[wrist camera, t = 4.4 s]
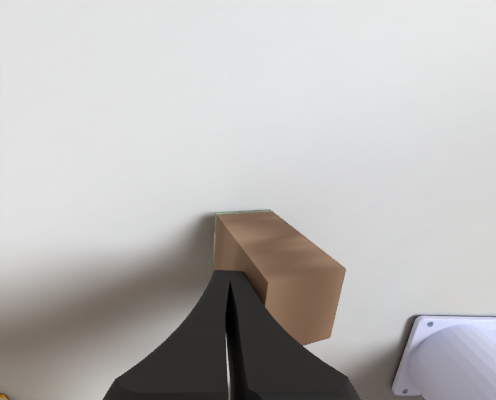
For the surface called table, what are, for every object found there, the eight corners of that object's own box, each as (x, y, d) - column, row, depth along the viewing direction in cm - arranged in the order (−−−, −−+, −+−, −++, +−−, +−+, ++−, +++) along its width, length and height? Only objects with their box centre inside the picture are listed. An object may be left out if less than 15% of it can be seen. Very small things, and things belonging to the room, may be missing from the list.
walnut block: (270, 209, 17) (346, 268, 11) (264, 259, 18) (330, 337, 12) (215, 212, 16) (268, 282, 10) (212, 266, 17) (258, 358, 11)
